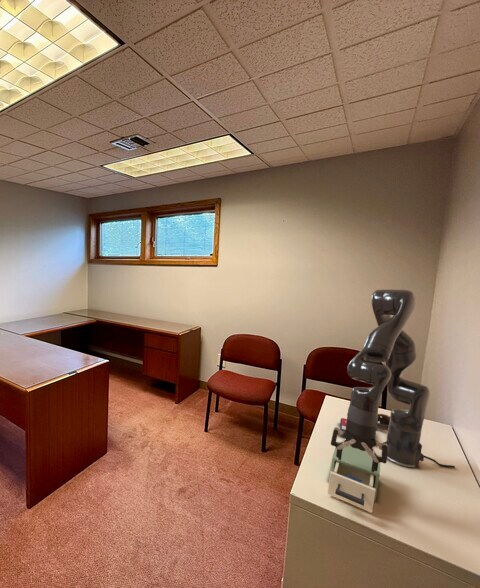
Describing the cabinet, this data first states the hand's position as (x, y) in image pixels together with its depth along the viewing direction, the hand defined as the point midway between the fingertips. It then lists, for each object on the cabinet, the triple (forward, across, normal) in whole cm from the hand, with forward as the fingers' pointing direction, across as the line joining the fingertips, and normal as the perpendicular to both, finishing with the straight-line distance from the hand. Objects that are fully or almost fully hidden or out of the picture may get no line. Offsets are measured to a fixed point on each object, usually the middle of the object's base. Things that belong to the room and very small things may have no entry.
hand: (355, 464), depth 107 cm
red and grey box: (+12, +2, -52) cm, 54 cm away
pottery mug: (+12, -6, -69) cm, 71 cm away
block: (+10, 0, +1) cm, 10 cm away
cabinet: (+12, 0, -10) cm, 16 cm away
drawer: (+11, 0, +2) cm, 11 cm away
